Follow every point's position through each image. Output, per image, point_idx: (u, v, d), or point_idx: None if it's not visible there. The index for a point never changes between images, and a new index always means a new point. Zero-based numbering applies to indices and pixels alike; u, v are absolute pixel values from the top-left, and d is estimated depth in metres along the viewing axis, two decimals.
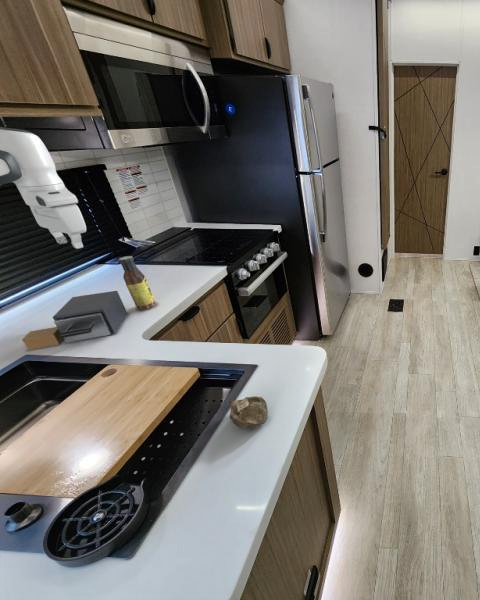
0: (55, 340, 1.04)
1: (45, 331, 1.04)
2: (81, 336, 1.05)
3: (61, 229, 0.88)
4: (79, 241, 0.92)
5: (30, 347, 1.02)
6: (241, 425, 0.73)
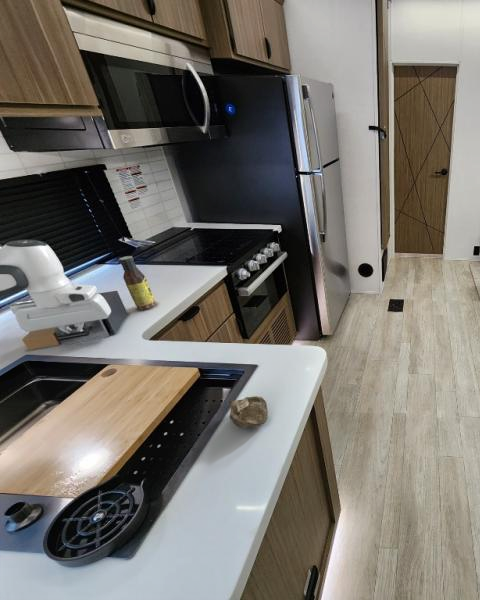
0: (55, 340, 1.04)
1: (45, 331, 1.04)
2: (79, 339, 1.03)
3: (87, 318, 0.98)
4: (81, 328, 1.01)
5: (30, 347, 1.02)
6: (241, 425, 0.73)
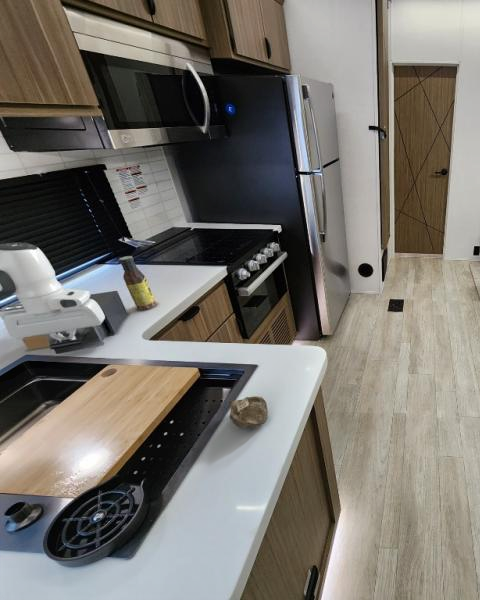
0: None
1: None
2: (72, 347, 1.00)
3: (79, 325, 0.94)
4: None
5: (30, 347, 1.02)
6: (241, 425, 0.73)
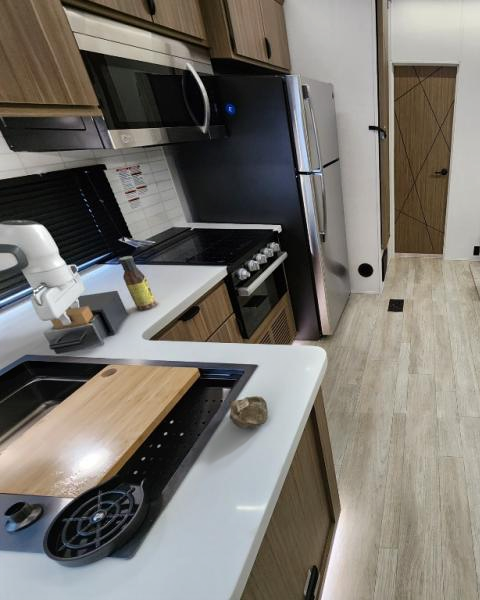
0: (84, 320, 0.99)
1: (73, 310, 1.00)
2: (72, 347, 0.99)
3: (78, 293, 1.02)
4: None
5: (58, 327, 0.97)
6: (241, 425, 0.73)
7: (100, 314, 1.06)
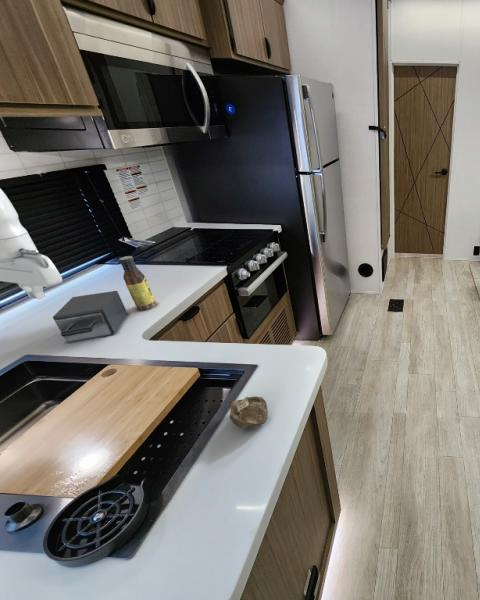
0: None
1: None
2: (82, 335, 1.05)
3: None
4: None
5: None
6: (241, 425, 0.73)
7: None
